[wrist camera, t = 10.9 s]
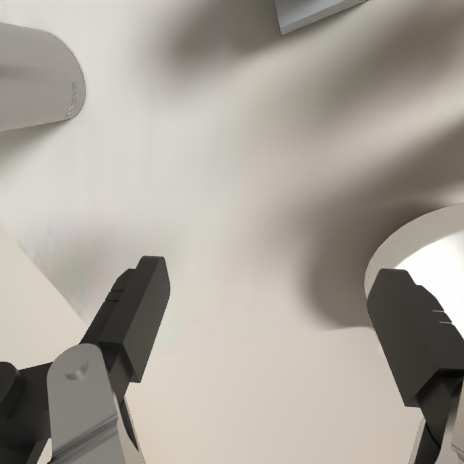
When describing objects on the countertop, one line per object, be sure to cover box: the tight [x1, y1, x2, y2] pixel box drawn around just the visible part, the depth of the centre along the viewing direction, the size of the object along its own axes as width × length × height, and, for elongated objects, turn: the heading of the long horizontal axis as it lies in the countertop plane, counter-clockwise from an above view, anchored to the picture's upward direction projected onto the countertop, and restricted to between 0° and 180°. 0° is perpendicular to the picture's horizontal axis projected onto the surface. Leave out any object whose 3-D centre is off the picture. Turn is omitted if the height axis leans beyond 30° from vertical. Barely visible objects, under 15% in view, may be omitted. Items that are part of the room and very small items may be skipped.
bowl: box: [364, 203, 464, 339], centre depth 31 cm, size 20×20×8 cm
